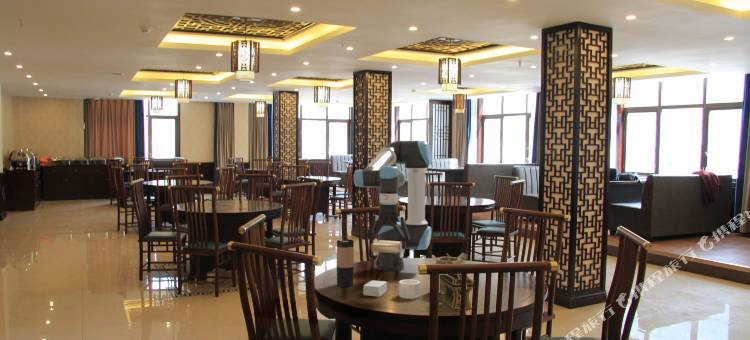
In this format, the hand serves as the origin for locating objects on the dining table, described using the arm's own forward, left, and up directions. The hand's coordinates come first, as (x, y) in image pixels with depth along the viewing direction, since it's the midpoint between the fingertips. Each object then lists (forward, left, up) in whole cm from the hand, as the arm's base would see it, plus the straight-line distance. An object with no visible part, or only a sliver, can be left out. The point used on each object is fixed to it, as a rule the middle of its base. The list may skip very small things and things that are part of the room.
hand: (388, 255), depth 235 cm
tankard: (-17, +24, -17) cm, 34 cm away
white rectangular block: (0, -6, -16) cm, 17 cm away
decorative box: (+4, +29, -17) cm, 34 cm away
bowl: (0, +9, -16) cm, 19 cm away
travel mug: (-8, -23, -16) cm, 29 cm away
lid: (0, 0, +2) cm, 2 cm away
